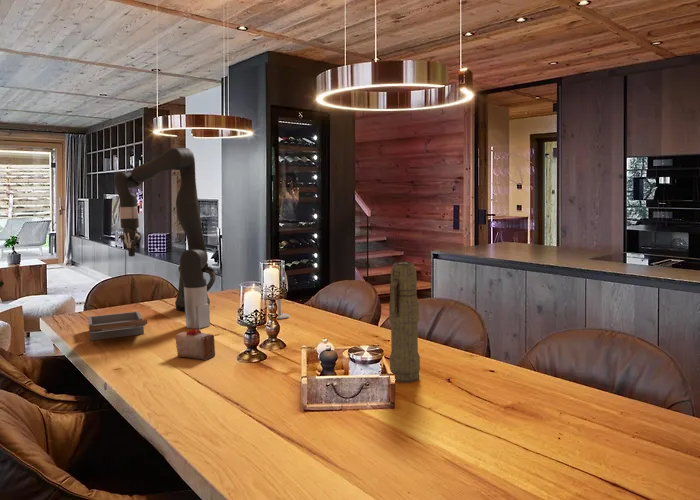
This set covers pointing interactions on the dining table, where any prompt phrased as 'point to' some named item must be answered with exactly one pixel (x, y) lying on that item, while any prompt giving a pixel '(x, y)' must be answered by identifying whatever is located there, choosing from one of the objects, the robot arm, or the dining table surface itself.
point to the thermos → (404, 322)
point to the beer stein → (180, 297)
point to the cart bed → (115, 319)
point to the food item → (195, 345)
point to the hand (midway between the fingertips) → (131, 256)
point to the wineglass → (280, 315)
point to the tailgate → (117, 326)
